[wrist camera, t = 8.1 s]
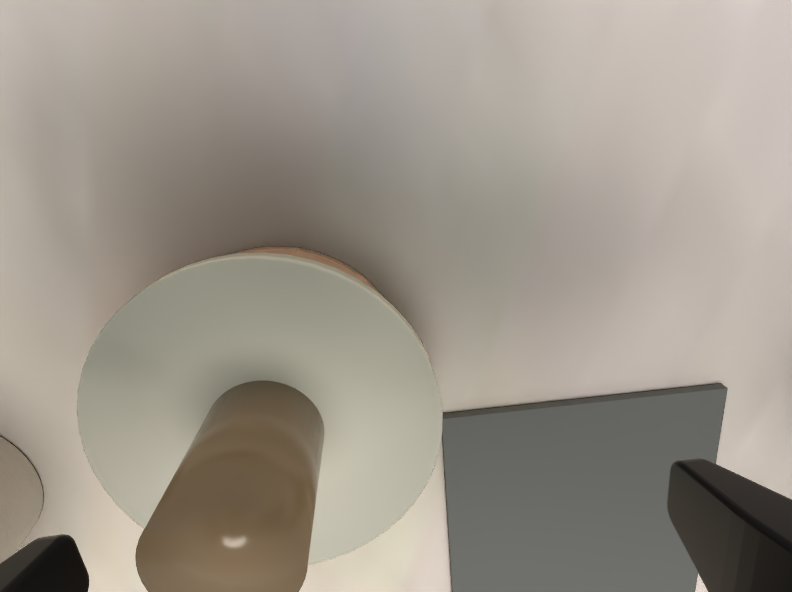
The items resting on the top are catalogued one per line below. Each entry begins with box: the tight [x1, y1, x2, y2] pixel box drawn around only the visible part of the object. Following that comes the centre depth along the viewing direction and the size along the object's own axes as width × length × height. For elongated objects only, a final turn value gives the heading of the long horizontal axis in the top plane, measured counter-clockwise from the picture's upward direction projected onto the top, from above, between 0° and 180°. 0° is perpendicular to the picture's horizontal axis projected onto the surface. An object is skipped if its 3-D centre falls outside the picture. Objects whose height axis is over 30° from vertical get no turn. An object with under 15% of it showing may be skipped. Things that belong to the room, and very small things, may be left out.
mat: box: [442, 384, 728, 592], centre depth 22 cm, size 12×12×1 cm
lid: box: [77, 252, 443, 592], centre depth 13 cm, size 11×11×6 cm
